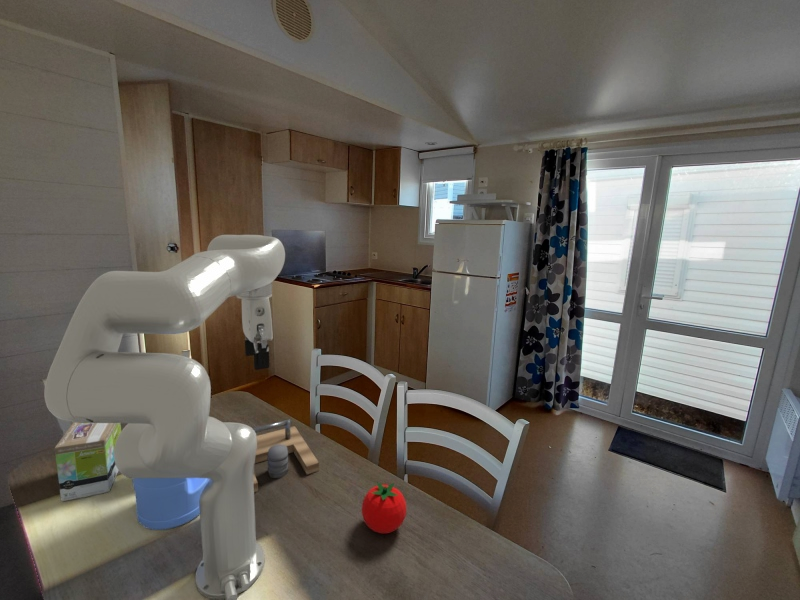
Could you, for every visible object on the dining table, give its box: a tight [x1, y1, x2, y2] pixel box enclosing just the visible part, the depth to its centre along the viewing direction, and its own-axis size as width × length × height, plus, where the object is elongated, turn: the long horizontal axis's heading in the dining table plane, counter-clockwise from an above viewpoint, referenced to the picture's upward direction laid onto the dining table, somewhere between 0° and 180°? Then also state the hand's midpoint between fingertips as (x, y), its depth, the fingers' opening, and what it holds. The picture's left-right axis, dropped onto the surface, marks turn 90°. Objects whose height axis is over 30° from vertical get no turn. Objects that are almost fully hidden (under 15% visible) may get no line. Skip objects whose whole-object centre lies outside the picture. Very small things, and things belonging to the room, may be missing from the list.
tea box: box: [54, 422, 122, 502], centre depth 96 cm, size 15×10×15 cm, turn 25°
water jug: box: [132, 478, 210, 531], centre depth 87 cm, size 16×16×28 cm
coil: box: [267, 444, 289, 479], centre depth 103 cm, size 5×5×7 cm
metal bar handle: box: [252, 418, 292, 440], centre depth 110 cm, size 3×14×6 cm, turn 123°
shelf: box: [253, 425, 320, 493], centre depth 108 cm, size 22×20×2 cm
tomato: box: [361, 481, 407, 534], centre depth 86 cm, size 10×10×10 cm
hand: (256, 361), depth 87 cm, fingers open, 9 cm apart
